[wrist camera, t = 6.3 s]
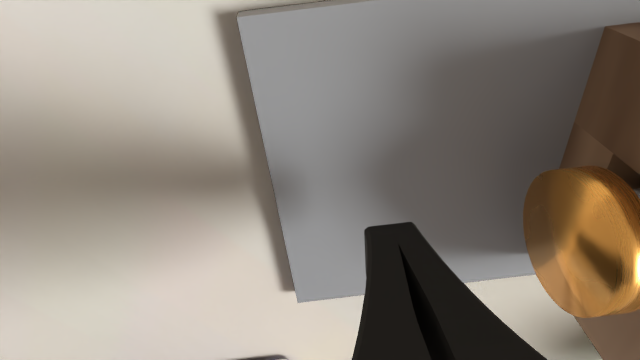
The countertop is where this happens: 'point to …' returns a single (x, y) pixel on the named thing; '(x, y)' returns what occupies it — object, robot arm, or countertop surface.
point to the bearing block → (611, 156)
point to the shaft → (585, 240)
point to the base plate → (416, 123)
